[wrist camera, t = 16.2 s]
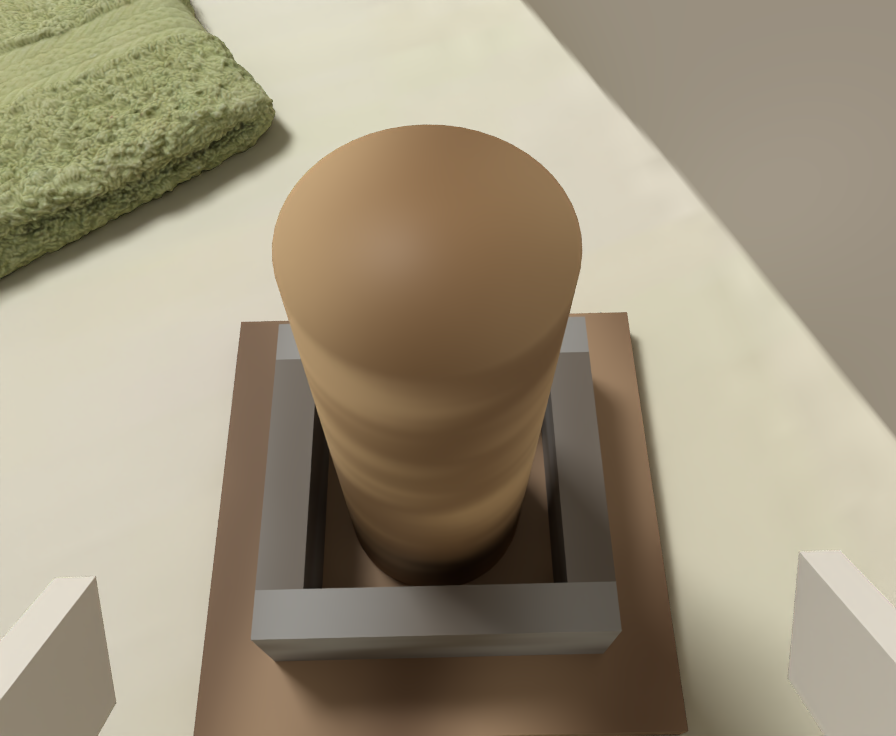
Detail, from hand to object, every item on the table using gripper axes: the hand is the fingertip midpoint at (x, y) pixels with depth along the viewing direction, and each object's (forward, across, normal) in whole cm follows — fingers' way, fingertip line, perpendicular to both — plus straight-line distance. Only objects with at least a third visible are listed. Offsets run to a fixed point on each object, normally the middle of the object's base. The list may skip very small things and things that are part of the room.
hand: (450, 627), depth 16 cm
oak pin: (+9, 0, -2) cm, 9 cm away
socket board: (+10, 0, -2) cm, 10 cm away
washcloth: (+22, -16, +9) cm, 29 cm away
